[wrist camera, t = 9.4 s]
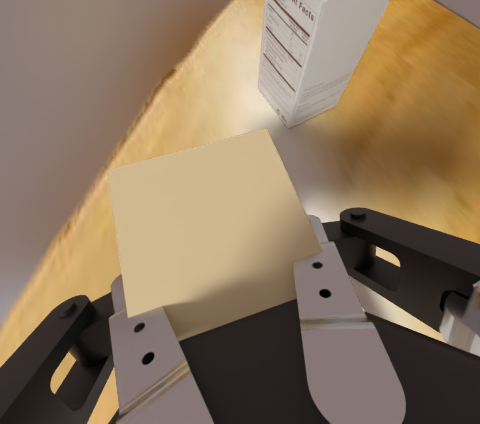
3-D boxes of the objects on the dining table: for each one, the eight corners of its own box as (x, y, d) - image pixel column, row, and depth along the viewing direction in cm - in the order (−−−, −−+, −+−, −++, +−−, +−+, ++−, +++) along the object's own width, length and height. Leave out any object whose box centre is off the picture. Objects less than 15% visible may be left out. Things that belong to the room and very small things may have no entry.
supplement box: (303, 69, 30) (345, -79, 18) (337, 107, 28) (410, -32, 16) (255, 89, 29) (266, -55, 17) (286, 131, 27) (325, -1, 15)
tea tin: (249, 228, 19) (266, 128, 7) (272, 292, 17) (338, 284, 6) (188, 248, 18) (106, 170, 7) (205, 315, 16) (133, 358, 5)
